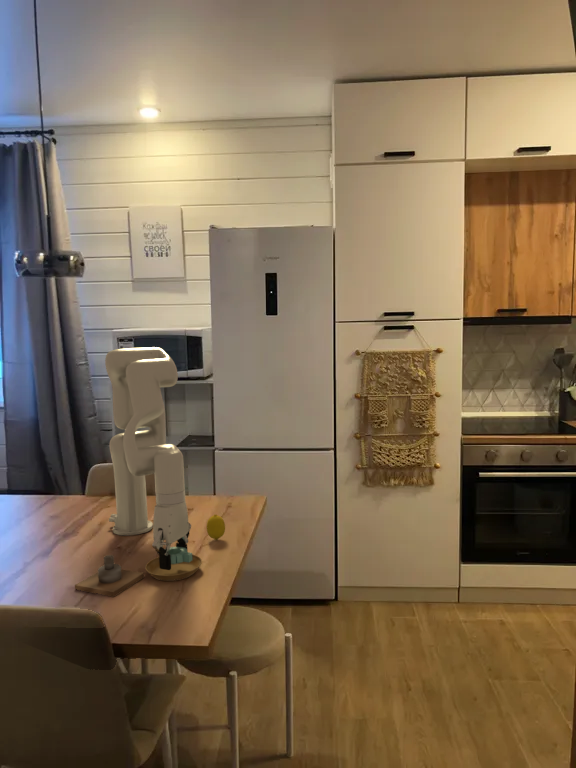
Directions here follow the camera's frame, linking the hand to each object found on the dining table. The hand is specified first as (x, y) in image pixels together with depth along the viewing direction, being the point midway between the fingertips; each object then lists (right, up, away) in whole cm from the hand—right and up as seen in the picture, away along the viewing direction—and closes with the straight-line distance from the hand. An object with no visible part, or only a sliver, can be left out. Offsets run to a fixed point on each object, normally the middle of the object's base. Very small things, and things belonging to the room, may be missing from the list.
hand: (174, 563), depth 160 cm
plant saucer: (0, -3, +1) cm, 3 cm away
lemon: (+8, 0, +24) cm, 25 cm away
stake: (-15, -4, -5) cm, 16 cm away
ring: (0, +1, 0) cm, 1 cm away
